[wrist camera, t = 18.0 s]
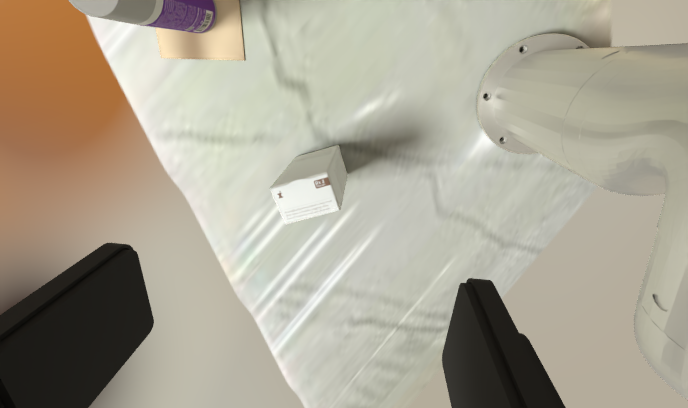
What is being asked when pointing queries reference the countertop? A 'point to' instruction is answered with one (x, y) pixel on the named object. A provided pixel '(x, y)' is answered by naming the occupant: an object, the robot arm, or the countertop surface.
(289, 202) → the skincare box
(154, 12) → the container
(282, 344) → the countertop surface
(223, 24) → the oak pad
